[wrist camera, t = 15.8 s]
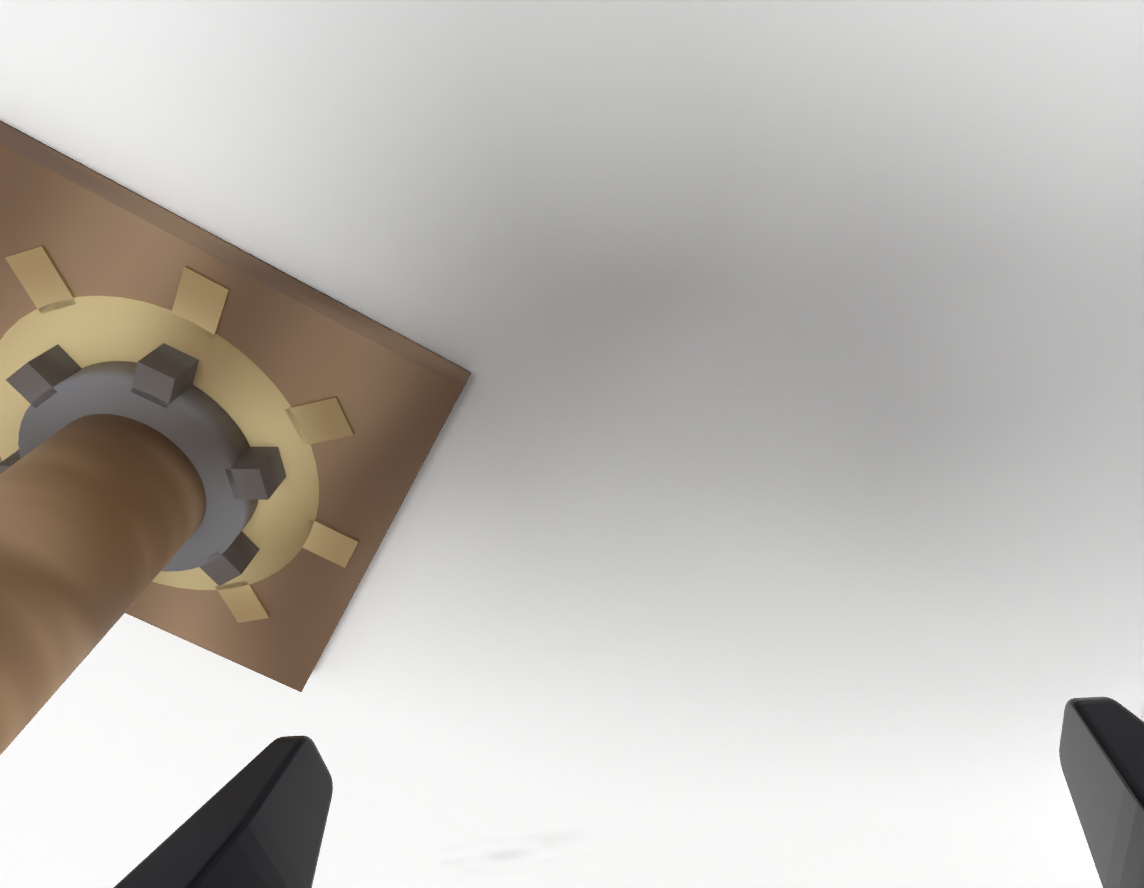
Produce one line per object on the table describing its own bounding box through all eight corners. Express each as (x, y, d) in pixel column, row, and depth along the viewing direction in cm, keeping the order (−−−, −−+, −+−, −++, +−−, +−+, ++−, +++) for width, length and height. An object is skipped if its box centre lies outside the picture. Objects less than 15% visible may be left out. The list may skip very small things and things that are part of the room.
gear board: (470, 372, 22) (461, 390, 21) (312, 671, 29) (300, 694, 28) (-30, 104, 20) (-65, 111, 19) (-72, 495, 27) (-99, 514, 26)
